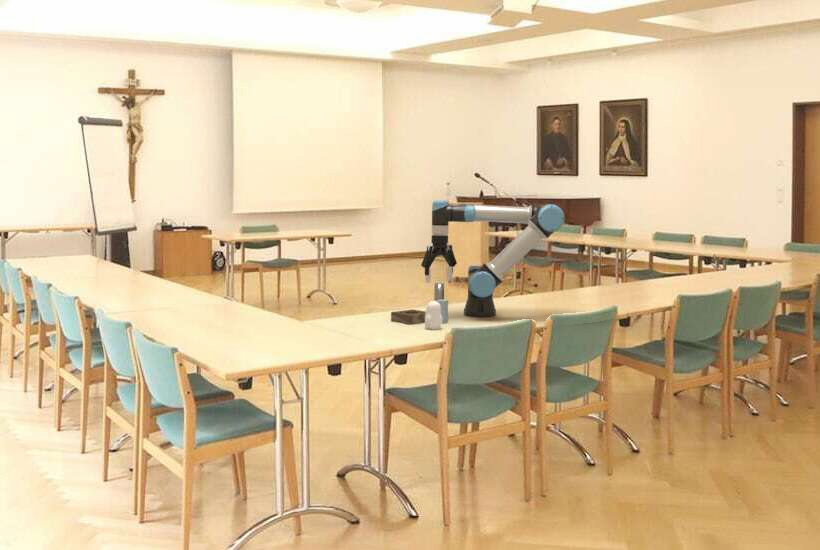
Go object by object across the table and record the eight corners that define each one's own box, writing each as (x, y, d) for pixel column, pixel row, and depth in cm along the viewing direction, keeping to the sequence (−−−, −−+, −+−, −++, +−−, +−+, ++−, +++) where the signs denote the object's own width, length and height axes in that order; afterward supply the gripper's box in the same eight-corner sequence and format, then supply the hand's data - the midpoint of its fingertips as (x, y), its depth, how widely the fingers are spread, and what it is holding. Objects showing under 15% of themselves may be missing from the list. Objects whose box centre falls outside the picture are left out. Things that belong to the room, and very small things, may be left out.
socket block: (412, 318, 407) (412, 309, 407) (432, 321, 398) (432, 312, 397) (391, 320, 399) (391, 312, 398) (410, 324, 389) (410, 315, 389)
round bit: (438, 317, 410) (439, 282, 408) (445, 318, 407) (446, 283, 405) (432, 318, 407) (432, 283, 405) (438, 319, 404) (439, 284, 402)
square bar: (439, 321, 398) (440, 299, 397) (447, 322, 396) (448, 300, 395) (435, 322, 395) (436, 300, 394) (443, 323, 393) (444, 301, 392)
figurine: (427, 330, 376) (427, 302, 375) (422, 327, 383) (422, 299, 382) (443, 329, 378) (444, 301, 376) (438, 326, 385) (438, 299, 384)
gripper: (453, 233, 414) (452, 278, 416) (413, 235, 397) (413, 282, 399) (465, 234, 408) (464, 280, 411) (425, 236, 391) (424, 284, 394)
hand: (438, 281), depth 405 cm, fingers open, 13 cm apart
